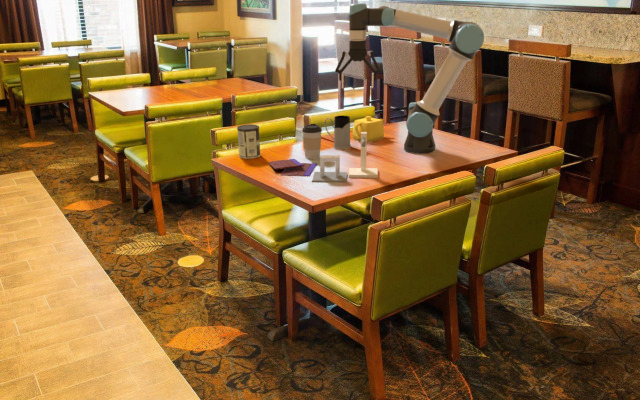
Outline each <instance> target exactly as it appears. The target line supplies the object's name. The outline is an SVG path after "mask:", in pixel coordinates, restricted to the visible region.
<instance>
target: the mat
mask: <svg viewBox="0 0 640 400" xmlns="http://www.w3.org/2000/svg"><path fill="white" fill-rule="evenodd" d="M347 178H348V172H347V171H340V177H339V178H337V177H336V171H325V176H324V177H320V171H314V173H313V177H312V183H347Z"/></svg>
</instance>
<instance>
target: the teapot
mask: <svg viewBox="0 0 640 400" xmlns="http://www.w3.org/2000/svg"><path fill="white" fill-rule="evenodd" d="M384 121H385V120H384V118H380V119H379V118H375V117H372V116H370V115H368V116H365V117H363V118H359V119H355V120H354V121H353V127H352V138H353V140H354V139H355V141H358V142H361V132H367V143H373V142H376V141H377V142H378V141H380V140H383V139H384V137H385V129H384V127H385V126H384Z"/></svg>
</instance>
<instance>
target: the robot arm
mask: <svg viewBox="0 0 640 400" xmlns="http://www.w3.org/2000/svg"><path fill="white" fill-rule="evenodd" d="M348 17H349V18H348V19H349V20H348V21H349V25H348V26H349V31H348V33H349V35H348V36H349V38H348V39H349V41H348V42H349V45H348V46H349V50H348V51H345V50H343V51H342V55H341V58H340V60H339V61H338V63H337V65H336V68H335V69H334V70H335V71H334V72H335V73H338V80H339V81H341V89H344V83H345V81H344V76H345V75H344V71H345V70H346V68H347V67H348V66H350V64H351V63H352V61H353V62H362V61H363V62H364V63H365V64H366V66H367V67H368V68H369V69H370V70H371V71H372V73H371V89H374V81H375V82H376V81H377V73H380V72H381V69H380V66H379V65H378V62H377V60H376V58H375V56H374V51H373V50H369V51H367V40H366V39H367V27H390V26H391V27H394V28H399V29H404V30H408V31H411V32H417V33H419V34H420V33H421V34H425V35H429V36H432V37H433V36H434V37H437V38H442V39H446V41H447V42H449V45H448V51H449V53H448V54H447V56H446V58H445V59H444V61H443V63H442V65H441V66H440V68H439V70H438V72H437V74H436V75H435V77H434V78H433V81H432V82H431V84H430V85H429V87H428V89H427V90H426V92H425V93H424V96H423V97H422V99H421V100H418V101H415V102H414V101H413V102H410V103H409V104H408V115H407V120H406V122H405V123H406V128H407V136H406V139H405V141H404V144H403V150H404V151H405V152H407V153H411V154H430V153H431V154H432V153H434V152H436V141H435V140H434V136H433V132H434V131H433V129H434V125H435V123H436V122H437V120H438V118H439V117H440V111H439V109H440V108H441V106H442V105H443V103H444V101H445V99H446V97H447V96H448V94H449V93H450V91H451V89H452V88H453V87H454V84H455V83H456V81H457V79H458V77H459V75H461V72H462V70H463V69H464V67H465V65H467V62H470V61H473V60H474V57H475V55H476V54H477V52H478V51H479V50H480V49H481V48H482V46H483V45H484V42H485V34H484V33H485V32H484V31H483V29H482V28H481V26H479V24H477V23H475V22H474V21H473V22H472V21H461V20H456V19H454V20H452V21H451V20H450V21H449V20H446V19H441V18H436V17H432V16H427V15H422V14H419V13H415V12H414V13H413V12H409V11H404V10H401V9H397V8H396V9H395V8H392V7H389V6H385V5H382V6H379V7H378V8H377V7H373V8H372V7H371V8H370V7H368V6H367V4H366V3H362V2H361V3H360V2H359V3H351V4H350V5H349V14H348ZM367 55H368V56H369V57H370V58H371V60H372V62H373V65H374V66H373V65H372V64H371V63H370V62H369V60H368V59H367V58H366V57H367ZM347 56H349V59H348V60H347V61H346V62H345V64H344V65H342V63H343V62H344V59H345V57H347ZM341 65H342V67H341ZM340 67H341V68H340Z"/></svg>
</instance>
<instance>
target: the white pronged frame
mask: <svg viewBox="0 0 640 400" xmlns="http://www.w3.org/2000/svg"><path fill="white" fill-rule="evenodd" d="M340 159H341V156H340V155H337V154H335V155H333V154H332V155H331V154H329V155H324V154H320V157H319V168H320V169H319V172H320V177H324V176H325V172H326V170H325V168H326V166H325V162H335V172H336V177H337V178H339V177H340V172H341V170H340V169H341V167H340V166H341V165H340V164H341V160H340Z"/></svg>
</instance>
